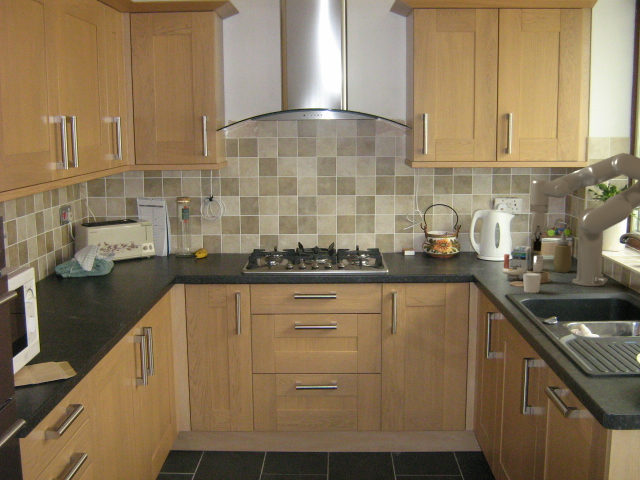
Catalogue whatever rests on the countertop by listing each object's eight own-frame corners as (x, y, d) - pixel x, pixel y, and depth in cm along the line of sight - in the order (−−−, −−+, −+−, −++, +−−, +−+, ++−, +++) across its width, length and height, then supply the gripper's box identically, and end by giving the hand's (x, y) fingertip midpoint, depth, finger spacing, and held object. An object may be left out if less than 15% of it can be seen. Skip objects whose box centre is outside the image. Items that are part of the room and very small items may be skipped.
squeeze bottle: (572, 273, 322) (574, 234, 319) (553, 273, 323) (555, 233, 321) (570, 270, 330) (571, 231, 327) (551, 269, 331) (553, 231, 329)
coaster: (537, 285, 298) (537, 284, 297) (520, 288, 293) (520, 286, 293) (521, 281, 305) (521, 280, 305) (505, 284, 301) (505, 282, 301)
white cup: (531, 288, 292) (532, 271, 291) (544, 292, 286) (544, 274, 285) (518, 290, 289) (519, 273, 288) (531, 293, 283) (532, 276, 282)
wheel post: (521, 280, 308) (522, 273, 308) (513, 281, 306) (513, 274, 305) (513, 278, 312) (513, 271, 312) (504, 279, 310) (505, 273, 310)
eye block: (549, 281, 305) (549, 272, 304) (537, 283, 302) (537, 274, 301) (537, 279, 311) (537, 270, 310) (525, 280, 308) (525, 271, 307)
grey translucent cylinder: (543, 281, 305) (544, 256, 304) (537, 282, 304) (538, 257, 302) (537, 280, 309) (538, 254, 307) (530, 281, 307) (531, 255, 305)
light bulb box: (527, 273, 325) (528, 249, 323) (512, 272, 328) (512, 248, 326) (531, 268, 334) (531, 246, 333) (516, 268, 337) (516, 245, 336)
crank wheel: (519, 275, 302) (519, 257, 301) (499, 273, 308) (499, 255, 307) (527, 272, 309) (528, 254, 308) (508, 269, 315) (508, 252, 314)
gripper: (530, 206, 311) (528, 245, 314) (529, 210, 295) (527, 251, 297) (548, 207, 309) (546, 246, 311) (548, 211, 292) (546, 252, 295)
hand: (537, 249), depth 304 cm, fingers open, 9 cm apart
